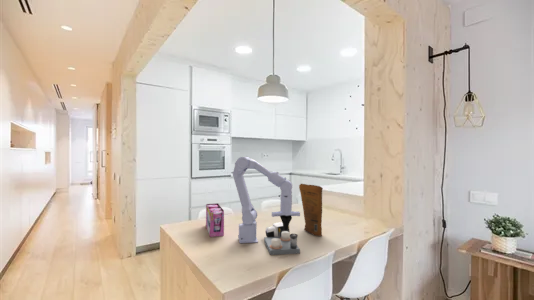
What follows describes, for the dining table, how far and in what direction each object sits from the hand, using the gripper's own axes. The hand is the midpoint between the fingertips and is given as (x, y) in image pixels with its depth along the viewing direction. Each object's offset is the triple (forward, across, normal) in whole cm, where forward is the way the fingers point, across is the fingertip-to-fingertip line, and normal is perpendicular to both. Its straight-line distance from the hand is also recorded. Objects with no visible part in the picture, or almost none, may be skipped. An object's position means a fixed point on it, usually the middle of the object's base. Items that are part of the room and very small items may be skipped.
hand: (285, 230), depth 135 cm
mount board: (+7, -3, -5) cm, 9 cm away
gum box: (+7, -37, +26) cm, 45 cm away
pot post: (+4, +1, -12) cm, 13 cm away
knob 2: (+4, 0, 0) cm, 4 cm away
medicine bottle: (+2, +3, +9) cm, 10 cm away
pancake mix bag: (+7, +19, +15) cm, 25 cm away
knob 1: (+4, -7, -10) cm, 13 cm away
